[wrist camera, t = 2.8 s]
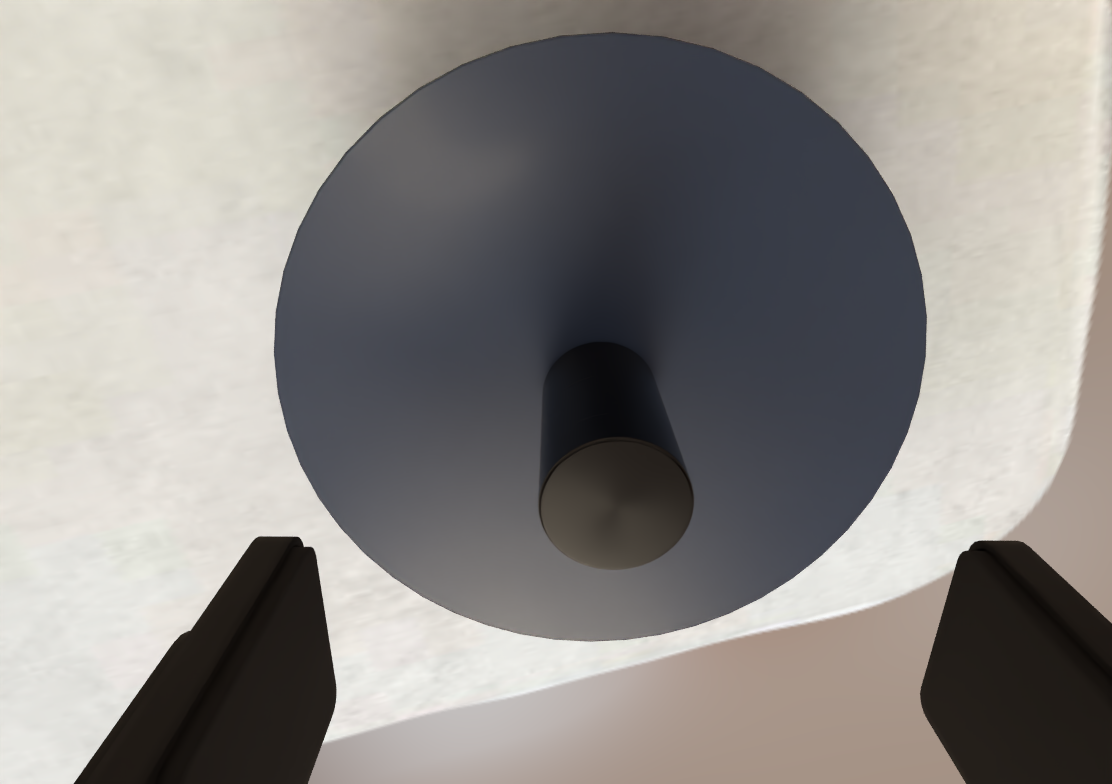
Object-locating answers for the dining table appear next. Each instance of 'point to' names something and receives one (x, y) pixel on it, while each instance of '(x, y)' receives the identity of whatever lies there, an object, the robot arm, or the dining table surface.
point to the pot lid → (600, 337)
